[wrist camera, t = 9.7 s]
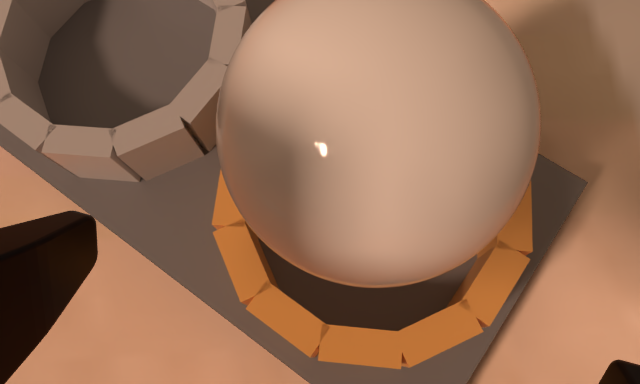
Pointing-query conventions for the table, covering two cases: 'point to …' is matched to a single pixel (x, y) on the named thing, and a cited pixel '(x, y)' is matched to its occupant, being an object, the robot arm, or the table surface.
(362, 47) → the lightbulb
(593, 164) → the table surface
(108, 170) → the bulb holder
